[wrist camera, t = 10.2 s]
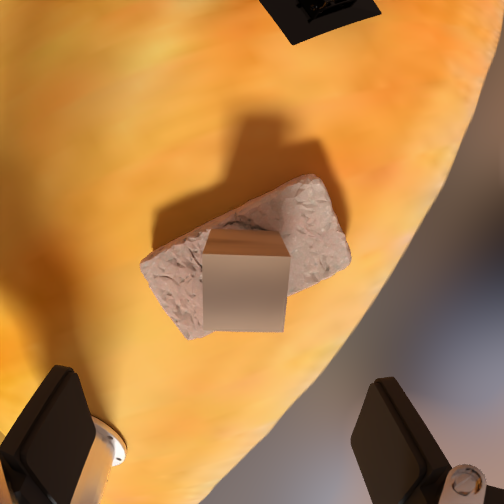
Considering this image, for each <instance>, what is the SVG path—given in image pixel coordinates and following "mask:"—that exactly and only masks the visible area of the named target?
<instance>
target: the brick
mask: <svg viewBox="0 0 504 504" xmlns="http://www.w3.org/2000/svg"><path fill="white" fill-rule="evenodd" d="M211 229H231V230H260V231H279V233H280V235H281V237H282V239H283V242H284V244H285V246H286V248H287V250H288V252H289V254H290V256H291V262H290V272H289V283H288V293H287V297H288V296H290V295H292V294H295V293H297V292H300V291H302V290H304V289H306V288H308V287H311V286H313V285H315V284H317V283H319V282H320V281H321V280H324V279H327V278H329V277H331V276H333V275H334V274H335V273H336V272H338V271H340V270H343V269H345V268H346V267H347V266H348V265H349V264H350V262H351V252H350V248H349V246H348V243H347V241H346V237H345V234H344V233H343V231H342V228H341V227H340V225H339V222H338V219H337V216H336V214H335V212H334V211H333V208H332V202H331V199H330V197H329V195H328V192H327V189H326V187H325V185H324V183H323V181H322V180H321V179H320V178H319V177H317V176H316V175H315V174H306V175H301V176H299V177H297V178H294V179H292V180H290V181H288V182H286V183H284V184H283V185H281V186H279V187H277V188H276V189H274V190H273V191H270V192H267V193H265V194H263V195H262V196H259V197H257V198H254V199H251V200H249V201H248V202H246V203H245V204H244V205H242V206H240V207H238V208H236V209H233V210H230V211H228V212H227V213H225V214H223V215H221V216H219V217H217V218H214V219H212V220H211V221H209V222H207V223H205V224H203V225H201V226H199V227H197V228H195V229H194V230H192V231H190V232H188V233H186V234H185V235H183V236H180V237H178V238H176V239H174V240H173V241H171V242H169V243H167V244H166V245H163V246H161V247H160V248H158V249H156V250H154V251H153V252H151V253H150V254H149V255H148V256H147V257H145V258H144V259H143V260H142V261H141V263H140V270H141V272H142V273H143V275H144V277H145V279H146V280H147V281H148V282H149V287H150V289H151V290H152V291H153V293H154V295H155V296H156V298H157V300H158V301H159V303H160V305H161V306H162V308H163V309H164V311H165V312H166V313H167V314H168V316H169V317H170V318H171V319H172V321H173V322H174V323H175V325H176V326H177V327H178V329H179V330H180V331H181V332H182V334H183V335H184V337H185V338H186V339H187V340H192V339H196V338H202V337H204V336H206V335H208V334H210V333H212V332H214V331H206V330H203V286H202V253H203V250H204V248H205V245H206V242H207V239H208V236H209V233H210V230H211Z"/></svg>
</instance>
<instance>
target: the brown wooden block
mask: <svg viewBox="0 0 504 504" xmlns="http://www.w3.org/2000/svg"><path fill="white" fill-rule="evenodd" d="M290 262H291V256H290V254H289V252H288V250H287V248H286V246H285V244H284V242H283V239H282V237H281V235H280V233H279V231H260V230H231V229H211V230H210V233H209V236H208V239H207V242H206V245H205V248H204V250H203V253H202V286H203V330H206V331H233V332H284V322H285V313H286V303H287V293H288V283H289V272H290Z"/></svg>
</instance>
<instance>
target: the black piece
mask: <svg viewBox="0 0 504 504" xmlns="http://www.w3.org/2000/svg"><path fill="white" fill-rule="evenodd" d="M259 1H260V3H261V4H262V5H263V6H264V8H265V9H266V10H267V12H268V13H269V14H270V16H271V17H272V18H273V20H274V21H275V22H276V24H277V25H278V26H279V28H280V29H281V30H282V32H283V33H284V35H285V36H286V37H287V39H288V40H289V42H290V43H291V44H292V45H296V44H298V43H300V42H303V41H305V40H308V39H310V38H313V37H315V36H318V35H320V34H323V33H326V32H328V31H331V30H334V29H337V28H340V27H342V26H345V25H348V24H351V23H354V22H357V21H361V20H364V19H367V18H370V17H374V16H377V15H380V14H381V11H380V10H379V8H378V7H377V5H376V4H375V2H374V1H373V0H259Z"/></svg>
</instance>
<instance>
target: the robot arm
mask: <svg viewBox="0 0 504 504" xmlns="http://www.w3.org/2000/svg"><path fill="white" fill-rule="evenodd" d="M351 446H352V449H353V451H354V454H355V457H356V459H357V462H358V465H359V467H360V470H361V473H362V476H363V478H364V481H365V483H366V486H367V489H368V492H369V495H370V497H371V500H372V503H373V504H504V489H500V488H496V487H492V486H488V485H486V479H485V475H484V474H483V473H482V471H481V470H480V469H478V468H477V467H475V466H472V465H468V464H462V465H458V466H456V467H454V468H452V467H451V465H450V464H449V462H448V460H447V459H446V457H445V455H444V454H443V452H442V451H441V449H440V447H439V446H438V444H437V443H436V441H435V439H434V438H433V436H432V434H431V433H430V431H429V430H428V428H427V426H426V425H425V423H424V422H423V420H422V419H421V417H420V415H419V414H418V413H417V411H416V409H415V408H414V406H413V405H412V403H411V402H410V400H409V399H408V397H407V396H406V394H405V392H404V391H403V389H402V388H401V386H400V385H399V383H398V382H397V380H396V379H395V378H394V377H385V378H378V379H376V380H375V381H374V383H372V384H370V386H369V389H368V392H367V395H366V398H365V401H364V404H363V406H362V409H361V412H360V415H359V418H358V420H357V423H356V426H355V428H354V430H353V433H352V436H351ZM126 454H127V448H126V445H125V443H124V442H123V440H122V439H121V437H120V436H119V435H118V434H117V433H116V432H115V431H114V430H113V429H112V428H111V427H109V426H108V425H106V424H105V423H104V422H102V421H100V420H99V419H97V418H95V417H93V416H91V414H90V411H89V408H88V405H87V402H86V399H85V396H84V393H83V390H82V387H81V384H80V380H79V377H78V375H77V373H74V371H73V369H72V368H70V367H65V366H60V365H55V366H54V367H53V368H52V369H51V371H50V372H49V373H48V375H47V376H46V378H45V379H44V380H43V382H42V383H41V385H40V386H39V388H38V389H37V390H36V392H35V393H34V395H33V396H32V398H31V399H30V401H29V402H28V403H27V405H26V406H25V408H24V409H23V411H22V412H21V414H20V415H19V417H18V418H17V420H16V422H15V423H14V425H13V426H12V428H11V429H10V431H9V432H8V434H7V436H6V437H5V439H4V441H3V442H2V444H1V445H0V504H100V502H101V499H102V496H103V492H104V489H105V486H106V482H107V481H108V476H109V473H110V470H111V467H112V466H116V465H119V464H121V463H122V462H123V461H124V460H125V458H126Z"/></svg>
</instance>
